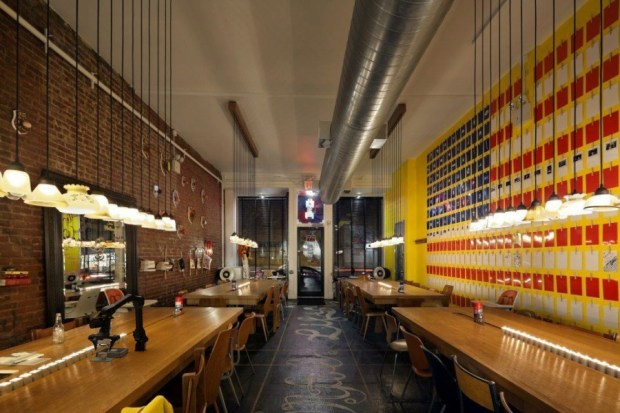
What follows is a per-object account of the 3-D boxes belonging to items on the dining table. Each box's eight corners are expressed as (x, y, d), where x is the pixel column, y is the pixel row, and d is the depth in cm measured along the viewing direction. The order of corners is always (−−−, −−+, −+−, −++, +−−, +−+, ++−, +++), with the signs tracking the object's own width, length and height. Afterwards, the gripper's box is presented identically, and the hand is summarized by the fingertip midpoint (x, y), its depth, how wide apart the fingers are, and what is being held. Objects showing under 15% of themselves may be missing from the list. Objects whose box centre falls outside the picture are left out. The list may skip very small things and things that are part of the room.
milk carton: (110, 343, 296) (113, 318, 298) (104, 345, 288) (107, 319, 291) (101, 343, 296) (104, 317, 298) (96, 345, 289) (98, 319, 291)
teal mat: (113, 358, 258) (113, 358, 258) (108, 361, 251) (109, 361, 252) (95, 358, 258) (95, 357, 258) (90, 361, 251) (90, 360, 251)
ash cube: (106, 358, 257) (107, 352, 257) (103, 360, 253) (104, 353, 253) (100, 358, 257) (101, 352, 257) (97, 360, 253) (98, 353, 253)
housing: (128, 352, 275) (128, 348, 275) (119, 357, 261) (120, 353, 261) (105, 351, 274) (105, 347, 274) (95, 357, 260) (96, 352, 261)
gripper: (84, 328, 248) (82, 353, 247) (114, 329, 250) (111, 354, 248) (93, 325, 259) (90, 349, 258) (121, 326, 261) (119, 350, 259)
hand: (102, 350), depth 255 cm, fingers open, 9 cm apart
